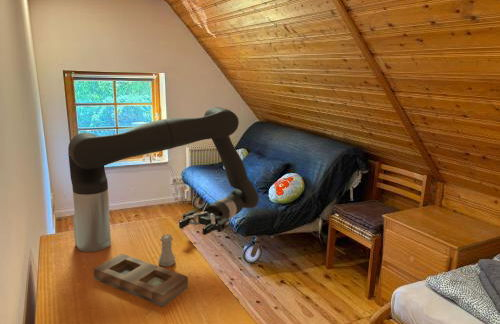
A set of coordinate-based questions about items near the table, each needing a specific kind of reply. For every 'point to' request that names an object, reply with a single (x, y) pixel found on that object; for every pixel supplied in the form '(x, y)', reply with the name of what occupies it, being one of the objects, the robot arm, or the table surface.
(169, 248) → the rook chess piece
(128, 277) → the slot rail
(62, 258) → the table surface
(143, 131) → the robot arm
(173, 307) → the table surface
